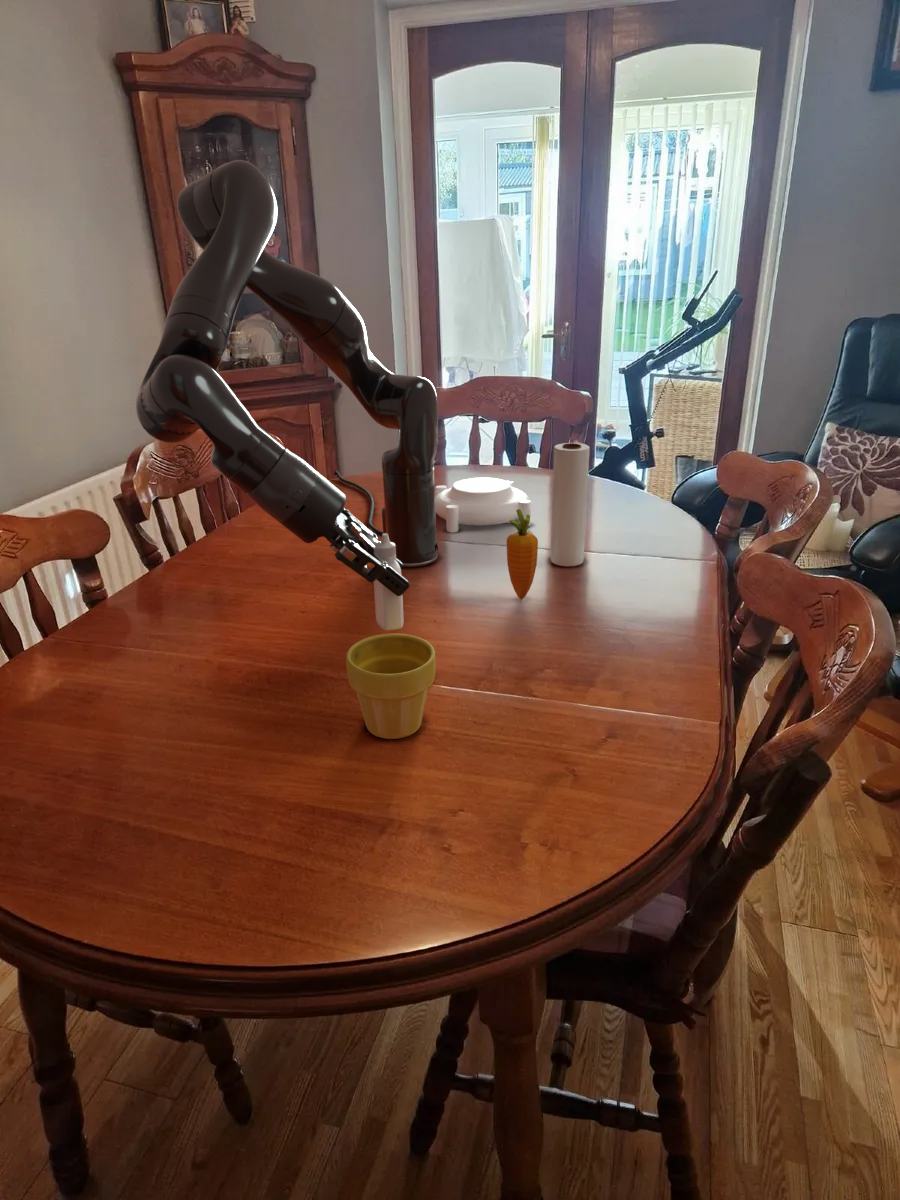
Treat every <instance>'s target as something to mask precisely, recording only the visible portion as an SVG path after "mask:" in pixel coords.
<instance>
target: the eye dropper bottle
mask: <svg viewBox="0 0 900 1200" xmlns="http://www.w3.org/2000/svg"><path fill="white" fill-rule="evenodd" d="M376 548H377V551H376V553H377V554H378V555H379V556H380V557H381V558H382V559H383V560H384V561H386V562H387V564H388V565H389V566H390V567H392V568H393V569H394V570H395V571H396V572H398V573H399V574H400V575H401V576H402V570H401V568H400V565H399V564H398V562H397V561H396V545H395V544H394V543H392V542H390V540H389V536H388V534H386V533H385V534H382V535H381V540H380V543H378V544H377V545H376ZM374 566H375V565H373V566H372V568H373V567H374ZM373 592H374V593H373V594H374V608H375V609H374V610H375V622H376V623H377V626H378V627H379V628H380V629H382V630H384V631H385V632H386V631H396V630H400V629H402V628H403V627H404V621H405V619H404V599H403V596H404V595H403V594H402V595H401V596H396V595H395V594H394V593H393V592H391V591H390V590H389V589H388V588H386V587H385V586H384V585H383V584H381V583H380V582H379V581H378V580H377V579H376V580H375V581H374V582H373Z"/></svg>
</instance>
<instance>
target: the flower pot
mask: <svg viewBox="0 0 900 1200" xmlns="http://www.w3.org/2000/svg"><path fill="white" fill-rule="evenodd" d="M345 663H346V665H345V666H346V676H347V681H348V684H349V686H350V688H352V690H353V691H355V695H356V697H357V700H358V703H359V706H360V711H361V713H362V716H363V721H364V723H365V726H366V729H367V730H368V732H369V733H370V734H372V735H373V736H375V737H378V738H381V739H386V740H399V739H403V738H406V737H410V736H411V735H413V734H415V733H416V732H417V731H418V730H419V729H420V727H421V725H422V721H423V717H424V711H425V707H426V702H427V696H428V693H429V688H430V687H431V686H432V685H433V683H434V681H435V679H436V651H435V648H434V647H433V645H432V644H431V643H430V642H429V641H427V640H426V639H423V638H422V637H419V636H416V635H414V634H413V635H412V634H407V633H382V634H375V635H372V636H368V637H365V638H362V639H361V640H359V641H356V642H355V643H354V644H353V645H351V647H349V649H348V650H347V652H346V655H345Z"/></svg>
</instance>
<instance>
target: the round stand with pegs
mask: <svg viewBox="0 0 900 1200" xmlns="http://www.w3.org/2000/svg"><path fill="white" fill-rule="evenodd" d="M447 487H448V486H447V485H444V484H438V485H436V486H435V513H436V515H438V516H439V517H440V518H442V519H443V520H445V523H446V531H447V532H448V533H458V532H459V529H460V526H459V525H465V526H493V525H501V524H507V523H509V521H510V520H514V521H518V522H519V523H520V520H519V517H518V515H517V511H516V510H518V509H521V511H522V514H523V517H524V520H525V518H526V514H529V515H530V519H531V516H532V514H531V513H532V512H531V511H532V510H531V509H532V501H531V500H530V498H529V497H528V495H527V494H526V493H525V492H524V491H523V490H521V489H519V488H516V487H514V481H512V480H505V479H502V478H496V477H487V476H485V477H484V476H483V477H481V476H480V477H471V478H470V477H469V478H463V479H460V480H457V481H455V482H454V483H453V484H452V485H451V487H449V488H447ZM530 526H531V522H530V523H529V526H528V527H530Z"/></svg>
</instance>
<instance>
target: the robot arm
mask: <svg viewBox="0 0 900 1200" xmlns="http://www.w3.org/2000/svg"><path fill="white" fill-rule="evenodd" d="M274 192H275V191H274V189H273V187H272V185H271V184H270V181H269V180H268V179H267V177H266V176H265V174H264V173H263V172H262V171H261V170H260V169H259V168H258V167H257V166H256V165H254V164H253V163H251V162H250V161H247V160H244V159H235V160H232V161H228V162H225V163H222V164H221V165H219V166H218V167H215V168H214V169H212V170H211V171H209V172H207V173H205V174H204V175H202V176H200V177H199V178H197V179H195V180H193V181H191V182H190V183H188V184H187V185H186V186H184V188H182V189H181V190H180V192H179V194H178V196H177V199H176V206H177V207H176V208H177V213H178V216H179V218H180V221H181V222H182V225H183V227H184V228H185V229H186V231H187V233H188V235H190V236H189V237H191V239H192V240H193V241H194V242H195V243H196V244H197V245H198V246H199V248H200V249H201V250H202V252H201V253H200V254H199V255H198V257H197V259H196V260H195V261H194V263H193V264H192V265H191V266H190V268H189V269H188V271H187V272H186V274H185V275H184V276H183V278H182V279H181V281H180V283H179V285H178V286H177V288H176V290H175V293H174V294H173V297H172V300H171V303H170V306H169V308H168V312H167V315H166V318H165V321H164V325H163V329H162V333H161V338H160V341H159V344H158V347H157V349H156V351H155V353H154V355H153V357H152V359H151V362H150V364H149V366H148V368H147V371H146V372H145V374H144V377H143V379H142V382H141V384H140V386H139V390H138V392H137V395H136V401H135V411H136V416H137V419H138V421H139V423H140V425H141V427H142V429H144V431H145V432H146V433H147V434H148V435H149V436H150V437H152V438H153V439H155V440H156V441H160V442H163V443H166V444H167V443H168V444H174V443H175V444H176V443H180V442H183V441H186V440H187V439H189V438H190V437H192V436H193V435H194V434H195V433H196V432H197V431H198V430H199V429H200V430H202V432H203V433H204V434H205V435H206V436H207V438H208V439H209V441H210V442H211V443H212V444H213V448H212V450H211V453H210V463H211V465H212V466H213V467H214V469H215V470H216V471H217V472H218V473H219V474H220V475H222V476H223V477H224V478H226V479H227V480H228V481H229V482H230V483H231V484H233V485H234V486H236V487H237V488H238V489H240V490H241V491H242V492H243V493H244V494H246V495H247V496H248V497H249V498H251V500H253V501H254V502H255V504H256V505H257V506H258V507H259V508H261V509H262V510H263V511H264V512H265V513H267V514H268V515H269V516H270V517H272V518H273V519H274V520H275V521H276V522H278V523H279V524H281V525H282V526H283V527H285V528H286V529H287V530H288V531H290V532H291V533H292V534H293V535H295V536H296V538H299V539H300V540H301V541H302V542H304V543H306V544H312V543H314V542H316V541H317V540H318V539H320V538H322V537H323V538H325V539H326V541H328V542H329V543H330V544H329V547H330V549H331V550H333V552H335V554H334V557H335V558H336V560H338V561H339V562H341V563H343V564H344V565H345V566H347V567H348V568H350V569H351V570H352V571H354V572H355V573H357V574H358V575H359V576H360V577H362V578H364V579H365V580H366V582H368V583H371V584H374V581H375V580H376V579H377V580H378V581H379V582H380V583H381V584H383V585H384V586H385V587H386V588H388V589H389V590H390V591H391V592H393V593H394V594H395V595H396V596H401V595H402V596H403V594H404V593H405V592H407V590H408V589H409V588H410V582H409V580H408V579H407V578H405V577H404V576H403V575H402V574H401V575H400V574H399V573H398V572H396V571H395V570H394V569H393V568H392V567H390V566H389V565H388V564H387V562H386V561H384V560H383V559H382V558H381V557H380V556H379V555H378V554H377V553H376V551H377V548H376V545H377V544H378V543H380V542H381V540H379V537H378V535H380V536H382V534H385V533H386V534H388V536H389V540H390V542H392V543H394V544H395V545H396V561H397V562H398V564H399V565H400V568H401V571H403V569H404V568H418V567H419V568H420V567H424V566H427V565H430V564H433V563H435V562H436V561H437V560H438V552H439V544H438V542H437V518H436V517H437V516H436V515H437V513H436V512H435V498H436V489H435V487H436V486H435V457H436V454H437V449H438V425H439V423H438V422H439V406H438V405H439V404H438V403H439V402H438V396H437V395H438V394H437V392H436V388H435V386H434V384H433V383H432V382H431V380H429V379H427V378H426V377H422V376H416V375H407V374H406V375H405V374H396V373H393V372H391V371H390V370H388V369H387V368H386V367H385V366H384V365H383V364H382V363H381V362H380V361H379V360H378V359H377V358H376V357H375V356H374V354H373V353H372V352H371V350H370V348H369V341H368V335H367V329H366V326H365V323H364V320H363V318H362V316H361V315H360V313H359V312H358V310H357V309H356V308H355V307H354V305H353V304H352V303H351V301H349V300H348V299H347V297H346V295H344V294H343V293H342V292H341V290H340V289H339V288H338V287H337V286H336V285H334V283H332V282H331V281H329V280H327V279H326V278H324V277H322V276H320V275H319V274H316V273H313V272H311V271H309V270H306V269H303V268H301V267H299V266H296V265H293V264H291V263H289V262H285V261H284V260H282V259H280V258H278V257H276V256H274V255H272V254H271V253H270V252H269V251H267V250H266V249H265V247H266V245H267V243H268V241H270V238H271V237H272V234H273V232H274V230H275V228H276V227H275V226H276V225H277V221H278V202H277V198H276V195H275V193H274ZM245 289H248V290H249V291H251V292H252V294H254V295H255V296H256V297H257V298H258V299H259V300H260V301H261V302H263V303H264V304H265V305H266V306H267V308H269V309H270V310H271V311H272V312H273V313H274V314H275V315H276V316H277V317H278V318H279V319H280V320H281V321H282V322H283V323H284V324H285V325H286V326H287V327H288V328H289V329H290V330H291V332H292V333H293V334H294V335H295V336H296V337H297V338H298V339H299V340H300V341H301V342H302V343H303V344H304V345H305V347H307V348H308V350H310V351H311V352H312V353H313V354H314V355H315V356H316V357H317V358H319V360H320V361H322V363H323V364H325V365H326V367H327V368H328V369H329V370H330V371H331V372H332V373H333V374H334V375H335V376H336V377H337V378H338V379H339V380H341V382H342V383H343V384H345V386H346V387H347V388H348V389H349V391H350V392H351V393H352V394H353V396H354V397H355V398H356V399H357V401H358V402H359V403H360V405H361V406H362V407H363V409H364V410H365V411H366V413H367V414H368V415H369V416H370V417H371V418H372V420H373V421H374V422H375V423H377V425H380V426H381V427H384V428H385V429H390V430H396V431H399V441H398V442H399V443H398V446H396V447H395V448H391V449H388V450H386V451H385V452H383V454H382V456H381V469H382V486H383V500H384V501H383V502H384V507H383V508H381V517H382V518H381V520H382V521H381V522H382V531H381V530H380V529H378V528H376V527H375V526H374V525H373V523H372V521H373V518H374V509H375V503H374V498H373V495H372V494H371V493H370V491H368V490H367V489H366V488H365V487H363V486H362V485H360V484H358V483H356V482H353V481H351V480H348V479H346V478H343V477H342V476H341V473H340V472H339V471H338V470H335V471H334V473H333V476H337V478H338V479H339V480H340V481H341V482H343V483H344V484H347V485H351V486H353V487H356V488H357V489H359V490H361V491H362V492H364V493H365V494H366V495H367V497H368V498H369V502H370V508H369V516H368V519H367V525H368V527H367V526H366V525H365V524H364V523H363V522H361V521H360V520H359V519H358V518H357V517H356V516H355V515H354V514H353V513H351V512H350V510H349V509H348V508H345V506H346V503H347V495H346V494H345V493H344V492H342V490H340V489H339V487H336V485H335V484H333V483H332V482H331V481H330V480H328V479H327V478H326V477H324V476H323V475H322V474H321V473H320V472H319V471H318V470H316V469H315V468H314V467H313V466H312V465H311V464H310V463H308V462H307V461H306V460H304V459H303V458H302V457H300V456H299V455H297V454H296V453H295V452H293V451H291V450H289V448H287V447H285V445H283V444H282V443H281V442H280V441H278V440H277V438H275V437H273V436H272V435H271V433H269V432H268V431H266V430H265V429H264V428H263V427H261V426H260V425H259V424H257V422H256V420H255V419H254V417H252V415H251V413H250V412H249V411H248V409H247V408H246V406H245V405H244V404H243V402H242V401H241V400H240V398H239V397H238V396H237V395H236V393H235V391H233V389H232V388H231V387H230V386H229V384H228V383H227V382H226V381H225V379H224V378H223V377H222V376H221V374H220V373H218V371H217V369H219V367H220V365H221V363H222V362H223V360H224V357H225V355H226V351H227V348H228V344H229V341H230V336H231V332H232V329H233V324H234V320H235V317H236V314H237V310H238V307H239V304H240V301H241V299H242V296H243V294H244V292H245ZM376 533H377V534H376ZM369 563H370V564H372V565H373V566H374V565H375V566H374V567H373V566H372V568H370V567H369V566H367V565H368V564H369Z"/></svg>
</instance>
